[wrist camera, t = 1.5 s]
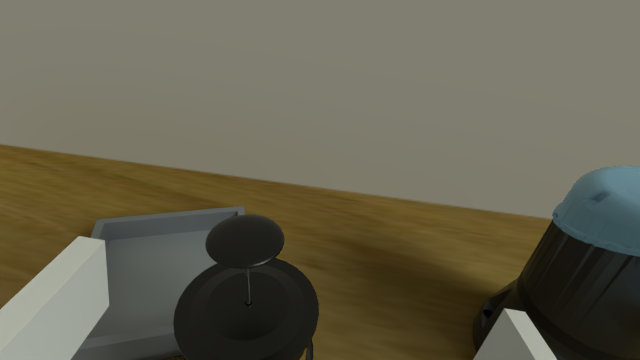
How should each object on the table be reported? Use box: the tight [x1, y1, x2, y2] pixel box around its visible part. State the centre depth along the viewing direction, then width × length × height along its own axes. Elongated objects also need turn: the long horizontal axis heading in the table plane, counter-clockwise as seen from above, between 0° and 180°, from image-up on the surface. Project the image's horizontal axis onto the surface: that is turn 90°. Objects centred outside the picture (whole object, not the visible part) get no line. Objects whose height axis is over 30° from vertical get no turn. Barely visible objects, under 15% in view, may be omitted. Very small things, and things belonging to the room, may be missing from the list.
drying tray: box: [71, 206, 245, 360], centre depth 42 cm, size 19×19×4 cm
